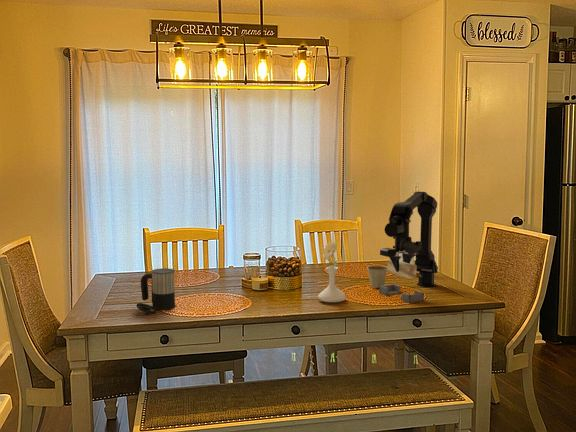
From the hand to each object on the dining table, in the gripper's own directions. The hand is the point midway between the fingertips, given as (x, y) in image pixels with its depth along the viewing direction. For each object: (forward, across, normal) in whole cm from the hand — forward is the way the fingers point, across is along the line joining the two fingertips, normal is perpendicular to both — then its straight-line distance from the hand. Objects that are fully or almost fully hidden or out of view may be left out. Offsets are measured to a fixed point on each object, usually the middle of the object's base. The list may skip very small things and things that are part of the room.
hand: (401, 271), depth 234 cm
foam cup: (+11, +33, +36) cm, 50 cm away
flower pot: (+11, +3, +20) cm, 23 cm away
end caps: (+11, 0, 0) cm, 11 cm away
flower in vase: (+11, -29, +8) cm, 32 cm away
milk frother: (+11, -94, +32) cm, 100 cm away
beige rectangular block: (+2, 0, 0) cm, 2 cm away
